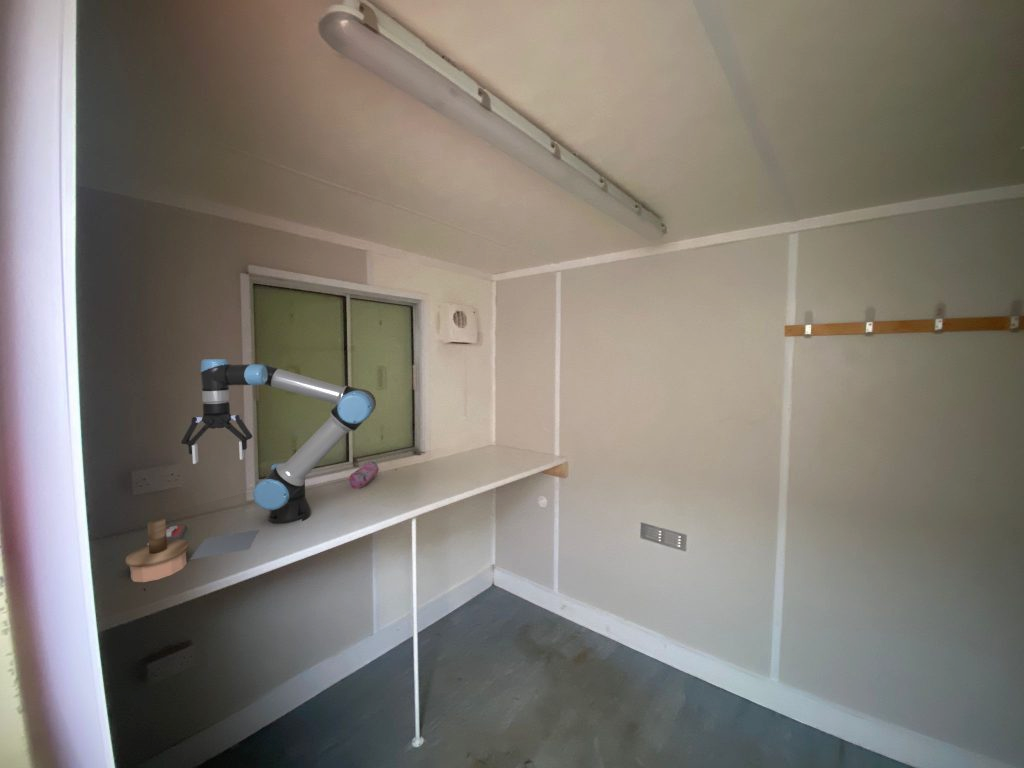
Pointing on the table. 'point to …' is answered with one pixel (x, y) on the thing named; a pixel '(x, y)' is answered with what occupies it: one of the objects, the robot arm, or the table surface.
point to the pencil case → (363, 475)
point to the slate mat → (225, 544)
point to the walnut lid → (157, 547)
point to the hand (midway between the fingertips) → (219, 460)
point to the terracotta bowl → (158, 569)
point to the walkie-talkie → (175, 532)
